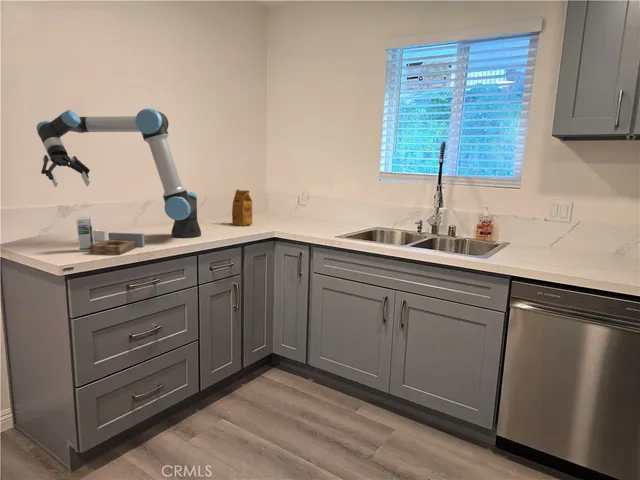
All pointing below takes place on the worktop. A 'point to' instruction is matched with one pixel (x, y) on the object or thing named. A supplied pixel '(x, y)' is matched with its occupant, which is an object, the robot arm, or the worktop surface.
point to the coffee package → (242, 208)
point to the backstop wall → (128, 238)
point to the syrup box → (85, 233)
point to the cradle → (112, 247)
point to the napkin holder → (100, 235)
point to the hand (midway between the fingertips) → (72, 184)
